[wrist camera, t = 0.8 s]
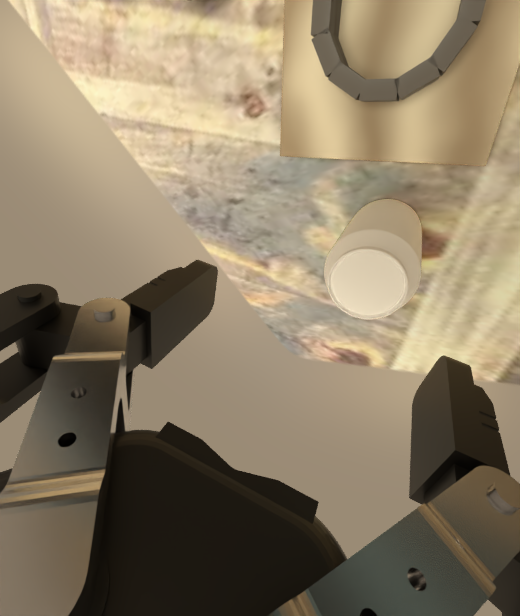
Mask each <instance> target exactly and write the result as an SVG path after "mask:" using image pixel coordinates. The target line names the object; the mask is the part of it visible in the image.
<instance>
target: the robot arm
mask: <svg viewBox="0 0 520 616" xmlns="http://www.w3.org/2000/svg"><path fill="white" fill-rule="evenodd" d="M217 274H218V270H217V267H215V266H213V265H210V264H208V263H205V262H203V261H200V260H196V261H194V262H193V263H191V264H189V265H188V266H186V267H185V268H182V267H179V268H176V269H172V270H168V271H166V272H164V273H163V274H161V275H160V276H158V278H155V279H153V280H152V281H150V283H147V284H145V285H143V286H142V287H140V288H139V289H137V290H136V291H134V292H133V293H131V294H129V295H127V296H126V297H124V298H123V299H121V300H120V299H116V298H98V299H95V300H92V301H89V302H87V303H85V304H84V305H83V306H77V305H71V304H66V303H61V302H59V298H58V293H57V291H56V290H55V289H54V288H53V287H51V286H48V285H43V284H28V285H22V286H19V287H15V288H13V289H10V290H9V291H6V292H4V293H2V294H0V351H1V350H3V349H4V348H6V347H8V346H9V345H11V344H12V343H14V342H16V345H17V348H18V351H19V352H17V353H16V354H14V355H13V356H11V357H10V358H9V359H7V360H5V361H4V362H2V363H0V422H2V421H3V420H4V419H6V418H7V417H8V416H9V415H11V414H12V413H13V412H14V411H16V410H17V409H18V408H19V407H21V406H22V405H23V404H24V403H26V402H27V401H28V400H29V399H31V398H32V397H33V396H34V395H36V394H37V393H38V392H40V391H41V392H40V395H39V397H38V400H37V403H36V406H35V409H34V411H33V414H32V417H31V419H30V422H29V425H28V428H27V430H26V433H25V436H24V439H23V442H22V444H21V447H20V450H19V453H18V455H17V458H16V461H15V464H14V466H13V468H12V469H9V470H6V471H3V472H0V616H474V615H475V614H476V612H477V611H478V610H479V609H480V608H481V606H482V605H483V604H484V603H485V602H486V601H487V600H489V601H490V602H492V604H494V605H495V606H496V607H497V608H498V609H499V610H500V611H501V612H502V616H520V484H519V483H518V482H517V481H516V480H515V479H513V478H512V477H511V476H510V473H509V469H508V464H507V460H506V456H505V453H504V448H503V444H502V440H501V436H500V433H499V432H498V431H499V427H498V423H497V421H496V420H495V419H496V415H495V411H494V407H493V403H492V402H491V400H490V399H489V397H488V396H487V394H486V393H485V391H484V390H483V389H482V388H481V387H479V386H476V385H474V382H473V376H472V371H471V367H470V366H469V365H467V364H465V363H462V362H460V361H457V360H454V359H452V358H449V357H447V356H441V357H440V358H439V359H438V361H437V362H436V363H435V365H434V366H433V368H432V369H431V371H430V372H429V373H428V375H427V376H426V378H425V379H424V381H423V382H422V384H421V385H420V386H419V388H418V390H417V392H416V394H415V397H414V400H413V404H412V431H411V461H410V492H409V493H410V494H409V495H410V496H409V498H410V499H412V500H414V501H416V502H418V503H420V504H422V505H421V506H419V507H418V508H417V509H415V510H414V511H412V512H411V513H410V514H408V515H407V516H406V517H404V518H403V519H402V520H400V521H399V522H398V523H396V524H395V525H393V526H392V527H391V528H389V529H388V530H387V531H385V532H384V533H383V534H381V535H380V536H379V537H377V538H376V539H374V540H373V541H372V542H370V543H369V544H368V545H366V546H365V547H364V548H362V549H361V550H360V551H358V552H357V553H355V554H354V555H353V556H351V557H350V558H349V559H347V558H346V556H345V554H344V552H343V551H342V549H341V547H340V545H339V544H338V542H337V541H336V539H335V538H334V536H333V535H332V534H331V532H330V531H329V530H328V529H327V528H326V527H325V525H324V524H323V523H322V522H321V521H320V520H319V519H318V518H317V517H316V516H315V514H316V510H317V506H318V501H316V500H314V499H312V498H310V497H308V496H306V495H304V494H303V493H301V492H299V491H297V490H295V489H293V488H291V487H290V486H288V485H285V484H284V483H282V482H280V481H278V480H275V479H270V478H266V477H262V476H258V475H254V474H250V473H246V472H242V471H238V470H235V469H233V468H232V467H230V466H229V465H228V464H227V463H226V462H225V461H224V460H223V459H222V458H221V457H220V456H219V455H218V454H217V453H216V452H215V451H213V450H212V449H211V448H210V447H209V446H208V445H207V444H206V443H205V442H204V441H203V440H201V439H200V438H198V437H196V436H194V435H192V434H190V433H189V432H187V431H185V430H183V429H181V428H179V427H177V426H175V425H174V424H172V423H170V422H167V424H166V425H165V426H164V427H163V428H162V430H161V431H160V432H157V431H151V430H132V431H130V418H131V407H132V395H133V382H134V368H135V367H136V366H138V365H139V364H140V363H141V364H143V365H145V366H147V367H149V368H151V369H152V368H153V367H154V366H156V365H157V364H158V363H159V362H160V361H161V360H162V359H163V358H164V357H165V356H166V355H167V354H168V353H169V352H170V351H171V350H172V349H173V348H174V347H175V346H177V345H178V344H179V343H180V342H181V341H182V340H183V339H184V338H185V337H186V336H187V335H188V334H189V333H190V332H191V331H192V330H194V328H196V327H197V326H198V324H200V323H201V322H202V321H203V320H204V319H205V318H206V317H207V316H208V315H209V313H210V312H211V310H212V307H213V305H214V298H215V291H216V282H217Z"/></svg>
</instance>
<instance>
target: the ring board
mask: <svg viewBox="0 0 520 616" xmlns="http://www.w3.org/2000/svg"><path fill="white" fill-rule="evenodd" d="M519 64H520V0H285V4H284V38H283V73H282V107H281V142H280V156H290V157H310V158H330V159H351V160H371V161H392V162H412V163H432V164H453V165H473V166H486V163H487V160H488V157H489V154H490V151H491V148H492V145H493V142H494V139H495V136H496V133H497V130H498V127H499V124H500V121H501V118H502V115H503V112H504V109H505V106H506V103H507V100H508V97H509V94H510V91H511V88H512V85H513V82H514V79H515V76H516V73H517V70H518V67H519Z"/></svg>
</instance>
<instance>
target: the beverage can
mask: <svg viewBox="0 0 520 616" xmlns="http://www.w3.org/2000/svg"><path fill="white" fill-rule="evenodd" d="M421 260H422V227H421V222H420V219H419V217H418V215H417V214H416V212H415V211H414V210H413V209H412V208H411V207H410V206H408V205H407V204H405V203H403V202H401V201H398V200H394V199H381V200H376V201H373V202H371V203H369V204H367V205H365V206H364V207H363V208H361V209H360V210H359V211H358V212H357V213H356V214H355V216H354V217H353V218H352V220H351V221H350V223H349V224H348V226H347V227H346V228H345V230H344V231H343V233H342V234H341V236H340V237H339V239H338V240H337V242H336V243H335V244H334V246H333V247H332V249H331V250H330V252H329V254H328V256H327V258H326V261H325V266H324V277H325V282H326V285H327V287H328V291H329V294H330V296H331V298H332V300H333V302H334V303H335V304H336V305H337V306H338V307H339V308H340V309H341V310H342V311H344V312H345V313H347V314H349V315H351V316H353V317H356V318H360V319H379V318H383V317H385V316H388V315H390V314H392V313H393V312H395V311H396V310H397V309H399V308H401V307H402V306H404V305H405V304H406V303H407V302H408V301H409V300H410V299H411V298H412V297H413V296H414V294H415V293H416V291H417V289H418V287H419V284H420V279H421Z"/></svg>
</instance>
